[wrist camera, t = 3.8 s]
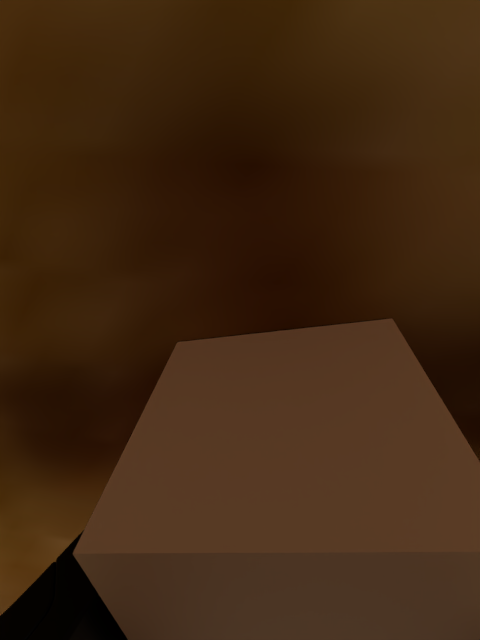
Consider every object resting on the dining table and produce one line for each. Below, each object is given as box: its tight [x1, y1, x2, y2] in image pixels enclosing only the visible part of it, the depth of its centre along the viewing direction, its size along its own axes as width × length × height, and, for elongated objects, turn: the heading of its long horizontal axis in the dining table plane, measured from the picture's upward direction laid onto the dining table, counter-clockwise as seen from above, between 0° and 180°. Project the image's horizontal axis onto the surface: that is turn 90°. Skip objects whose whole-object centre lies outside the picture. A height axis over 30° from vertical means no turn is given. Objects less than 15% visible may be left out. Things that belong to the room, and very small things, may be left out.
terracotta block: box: [73, 318, 480, 640], centre depth 7 cm, size 5×5×5 cm
